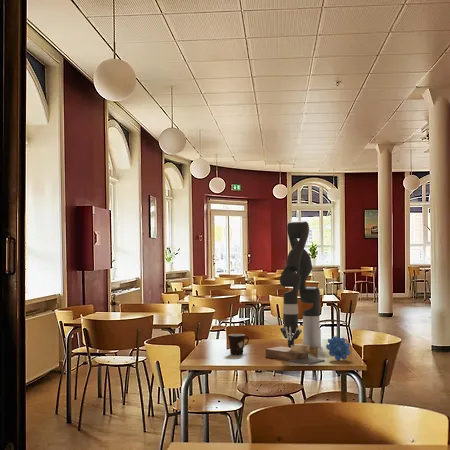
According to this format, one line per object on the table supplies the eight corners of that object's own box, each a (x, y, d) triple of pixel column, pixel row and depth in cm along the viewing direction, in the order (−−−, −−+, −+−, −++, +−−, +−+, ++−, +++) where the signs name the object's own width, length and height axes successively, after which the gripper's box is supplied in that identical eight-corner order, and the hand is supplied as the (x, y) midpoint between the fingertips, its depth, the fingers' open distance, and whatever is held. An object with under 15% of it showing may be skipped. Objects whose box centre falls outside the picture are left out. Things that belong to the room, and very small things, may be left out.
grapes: (326, 361, 306) (326, 336, 307) (326, 359, 313) (326, 334, 313) (351, 361, 305) (350, 336, 305) (350, 359, 311) (349, 335, 312)
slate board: (307, 358, 314) (307, 357, 314) (324, 361, 306) (324, 359, 306) (290, 361, 305) (290, 360, 306) (307, 364, 298) (307, 363, 298)
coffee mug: (230, 356, 323) (230, 336, 324) (226, 353, 332) (226, 334, 332) (252, 355, 326) (252, 335, 326) (248, 352, 334) (248, 333, 335)
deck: (281, 354, 329) (281, 346, 329) (308, 358, 315) (308, 350, 315) (265, 356, 320) (265, 348, 321) (292, 361, 307) (292, 353, 307)
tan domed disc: (300, 349, 317) (300, 343, 317) (313, 351, 310) (313, 345, 310) (287, 351, 312) (287, 345, 312) (299, 353, 304) (299, 347, 305)
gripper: (305, 313, 314) (306, 348, 313) (285, 311, 324) (286, 345, 323) (295, 314, 309) (295, 350, 308) (275, 312, 319) (276, 347, 318)
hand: (290, 347), depth 316 cm, fingers closed
